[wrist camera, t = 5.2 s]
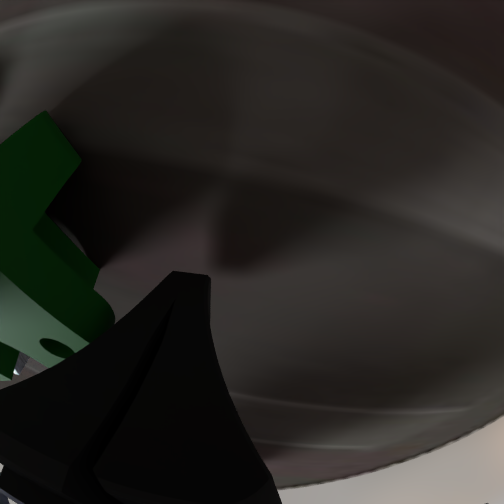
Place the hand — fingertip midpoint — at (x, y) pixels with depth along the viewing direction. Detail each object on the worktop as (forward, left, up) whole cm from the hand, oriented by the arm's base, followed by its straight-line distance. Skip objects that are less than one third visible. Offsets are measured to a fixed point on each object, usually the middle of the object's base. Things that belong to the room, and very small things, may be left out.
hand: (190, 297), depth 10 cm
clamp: (0, +8, -2) cm, 8 cm away
